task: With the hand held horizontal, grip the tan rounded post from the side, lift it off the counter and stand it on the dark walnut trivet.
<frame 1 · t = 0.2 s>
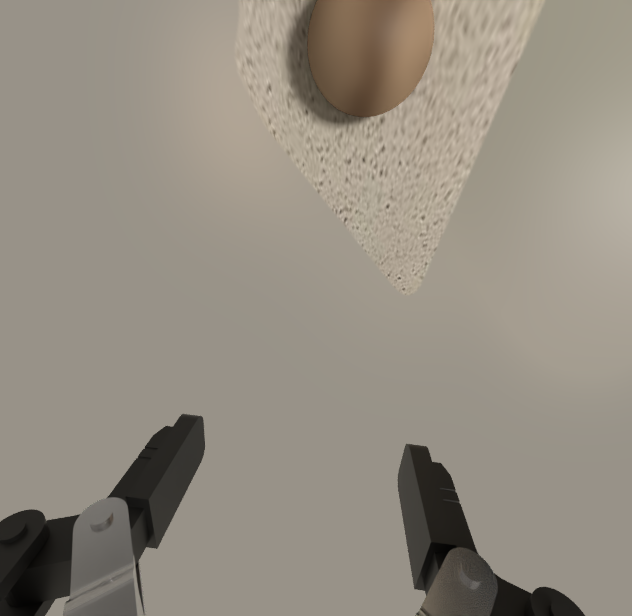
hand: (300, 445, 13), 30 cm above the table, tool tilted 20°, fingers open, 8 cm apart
trivet: (369, 44, 28), on the table
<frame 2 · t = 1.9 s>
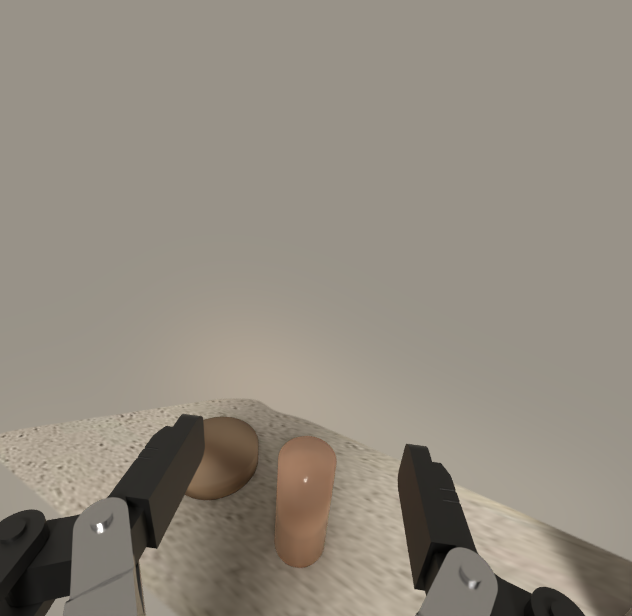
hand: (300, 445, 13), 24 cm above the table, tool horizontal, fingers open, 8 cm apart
tan rounded post: (299, 539, 32), on the table
trivet: (216, 461, 40), on the table
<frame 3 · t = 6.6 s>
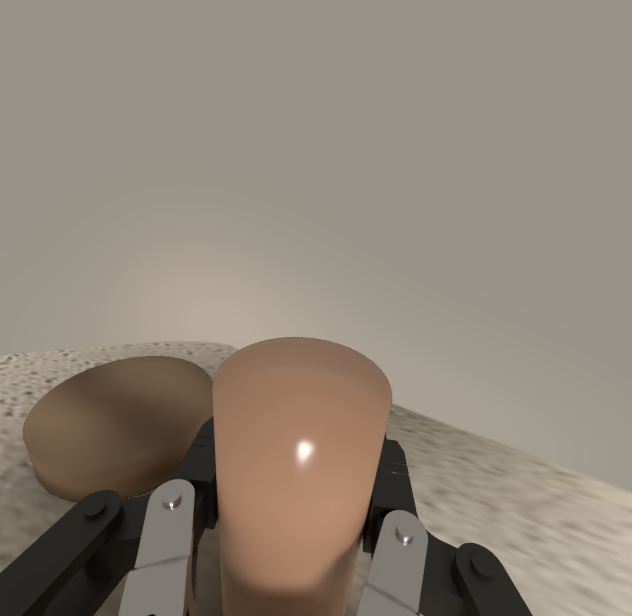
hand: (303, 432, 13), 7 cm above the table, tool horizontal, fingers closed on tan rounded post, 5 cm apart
tan rounded post: (284, 597, 14), on the table, touching gripper
trivet: (134, 430, 21), on the table
when the fingers open (10 cm above the table, at t = 11.0 s): tan rounded post drops 1 cm, resting on trivet.
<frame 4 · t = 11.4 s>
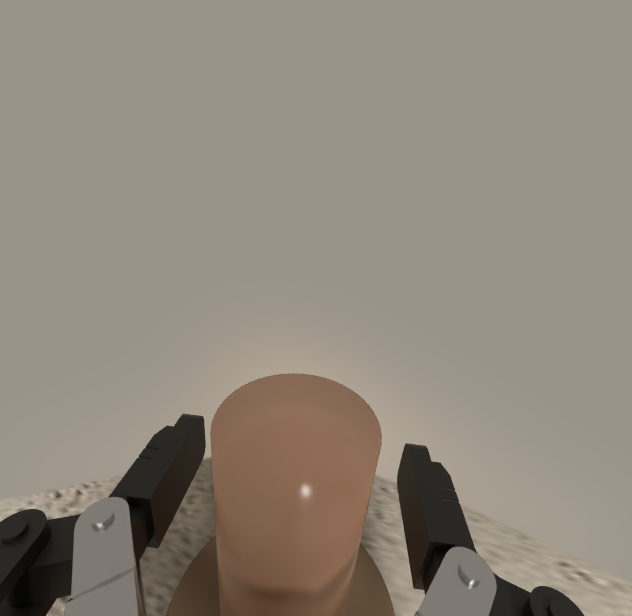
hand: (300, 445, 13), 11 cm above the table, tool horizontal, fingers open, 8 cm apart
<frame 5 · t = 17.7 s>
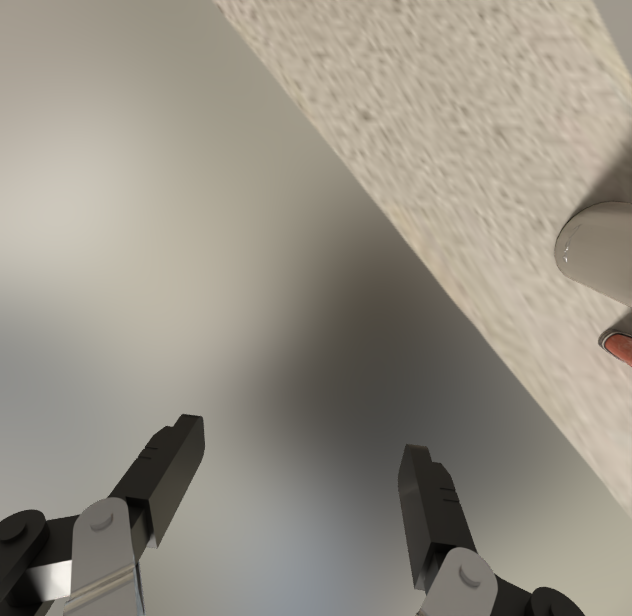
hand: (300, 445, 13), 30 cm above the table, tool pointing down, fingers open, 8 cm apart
lighter: (625, 347, 42), on the table
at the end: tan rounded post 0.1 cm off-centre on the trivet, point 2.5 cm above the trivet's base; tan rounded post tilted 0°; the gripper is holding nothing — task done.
